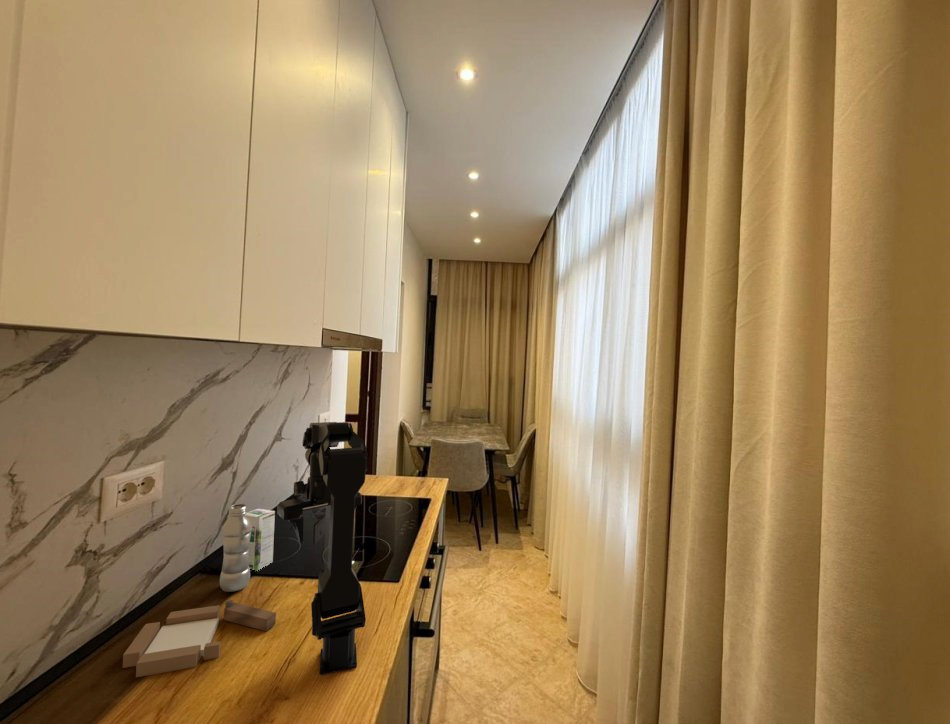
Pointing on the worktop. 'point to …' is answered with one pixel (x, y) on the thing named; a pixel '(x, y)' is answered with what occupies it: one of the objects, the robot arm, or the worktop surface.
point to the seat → (175, 642)
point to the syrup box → (261, 538)
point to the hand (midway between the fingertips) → (320, 538)
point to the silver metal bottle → (236, 550)
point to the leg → (249, 616)
